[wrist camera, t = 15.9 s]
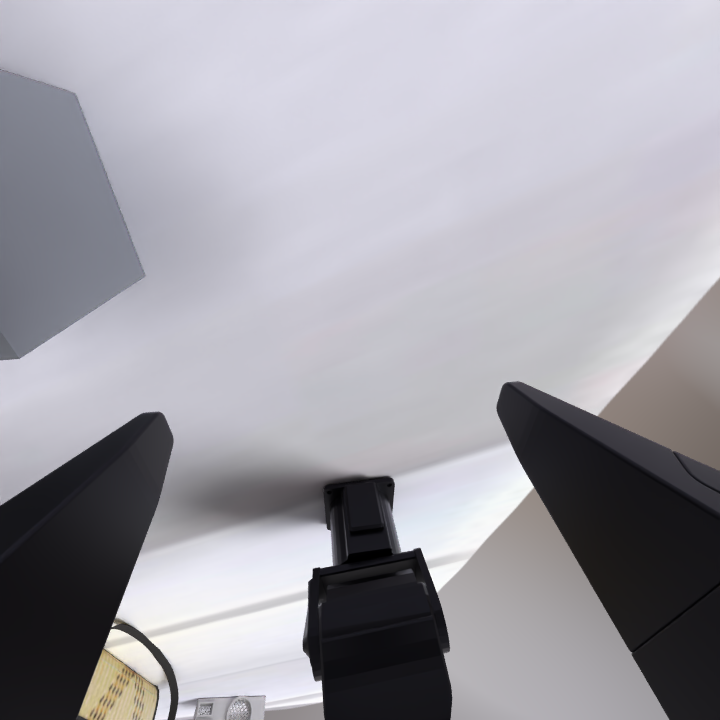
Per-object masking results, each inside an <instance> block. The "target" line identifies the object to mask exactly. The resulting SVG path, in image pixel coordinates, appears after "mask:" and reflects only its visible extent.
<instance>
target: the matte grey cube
mask: <svg viewBox="0 0 720 720" xmlns="http://www.w3.org/2000/svg"><path fill="white" fill-rule="evenodd" d="M143 277H145V274H144V271H143V268H142V266H141V263H140V261H139V258H138V255H137V253H136V250H135V248H134V245H133V242H132V240H131V237H130V235H129V232H128V229H127V227H126V224H125V222H124V219H123V216H122V214H121V211H120V209H119V206H118V203H117V201H116V198H115V196H114V193H113V190H112V188H111V185H110V183H109V180H108V177H107V175H106V172H105V169H104V167H103V164H102V162H101V159H100V156H99V154H98V151H97V149H96V146H95V143H94V141H93V138H92V136H91V133H90V130H89V128H88V125H87V123H86V120H85V117H84V115H83V112H82V110H81V107H80V104H79V102H78V99H77V97H76V94H75V93H72V92H69V91H66V90H63V89H60V88H57V87H54V86H50V85H47V84H44V83H41V82H38V81H35V80H32V79H29V78H26V77H22V76H19V75H16V74H13V73H10V72H7V71H4V70H1V69H0V360H10V359H20V358H21V357H23V356H24V355H26V354H28V353H29V352H31V351H32V350H34V349H35V348H37V347H38V346H40V345H41V344H43V343H44V342H46V341H47V340H49V339H50V338H52V337H53V336H55V335H56V334H58V333H60V332H61V331H63V330H64V329H66V328H67V327H69V326H70V325H72V324H73V323H75V322H76V321H78V320H79V319H81V318H82V317H84V316H85V315H87V314H88V313H90V312H91V311H93V310H95V309H96V308H98V307H99V306H101V305H102V304H104V303H105V302H107V301H108V300H110V299H111V298H113V297H114V296H116V295H117V294H119V293H120V292H122V291H123V290H125V289H126V288H128V287H130V286H131V285H133V284H134V283H136V282H137V281H139V280H140V279H142V278H143Z"/></svg>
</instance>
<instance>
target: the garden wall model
mask: <svg viewBox="0 0 720 720" xmlns="http://www.w3.org/2000/svg"><path fill="white" fill-rule="evenodd" d="M265 698H266V696H256V697H247V696H238V697H230V698H207V699H198V701H197V704H196V709H195V714H194V719H193V720H228V717H229V716H230V715H231V716H232V713H233V712H234V714H235V710H236V711H237V708H236V705H237V704H238V706H239V702H240V701H241V705H242V708H243V711H244V714H245V716H246V715H247V714H249V716H248V717H246V719H247V718H248V719H247V720H264V710H265ZM238 701H239V702H238ZM242 701H243V703H245V705H246V708H247V707H248V708H247V711H248V713H247V714H246V712H247V711H246V712H245V709H246V708H245V709H244V706H245V705H244V706H243V703H242ZM236 702H237V704H236V705H235V703H236ZM233 703H234V705H235V706H234V707H235V708H236V709H235V710H234V707H233ZM241 705H240V706H241ZM201 706H204V707H205V708H207V709H209V707H207V706H211V708H210V709H209V710H210V711H207V710H205V713H203V714H207V713H209V712H210V713H209V715H208V714H207V715H203V714H201V713H200V715H198V714H199V711H200V710H201V712H202V709H201V708H204V707H201ZM231 706H232V709H233V712H231V710H232V709H230V708H231ZM240 706H239V709H240ZM205 708H204V709H205ZM242 708H241V709H242ZM199 709H200V710H199ZM204 709H203V711H204ZM241 709H240V710H239V711H240V712H241ZM206 711H207V712H206ZM239 711H237V713H236V714H238V712H239ZM243 711H242V712H243ZM229 712H231V714H230V715H229ZM242 712H241V713H240V714H241V715H242ZM236 714H235V715H234V716H235V719H236V720H237V717H239V715H240V714H238V716H237V717H236ZM244 714H243V715H244ZM243 715H242V716H241V717H242V719H243V720H244V717H245V716H244V717H243ZM234 716H232V718H231V719H233V717H234ZM241 717H239V719H238V720H240V718H241ZM231 719H230V718H229V720H231ZM233 720H234V719H233Z"/></svg>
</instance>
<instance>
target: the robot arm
mask: <svg viewBox="0 0 720 720" xmlns="http://www.w3.org/2000/svg"><path fill="white" fill-rule="evenodd" d="M497 413H498V416H499V418H500V420H501V422H502V425H503V427H504V429H505V431H506V433H507V436H508V438H509V440H510V442H511V445H512V447H513V449H514V451H515V453H516V455H517V457H518V459H519V461H520V463H521V465H522V467H523V469H524V470H525V472H526V474H527V476H528V477H529V479H530V481H531V482H532V484H533V486H534V488H535V489H536V491H537V493H538V494H539V496H540V498H541V500H542V501H543V503H544V505H545V506H546V508H547V510H548V512H549V513H550V515H551V517H552V518H553V520H554V522H555V524H556V525H557V527H558V528H559V530H560V532H561V534H562V536H563V537H564V539H565V541H566V542H567V544H568V546H569V547H570V549H571V551H572V553H573V554H574V556H575V558H576V559H577V561H578V563H579V565H580V566H581V568H582V570H583V572H584V573H585V575H586V577H587V578H588V580H589V582H590V584H591V585H592V587H593V589H594V590H595V592H596V594H597V596H598V597H599V599H600V601H601V602H602V604H603V606H604V608H605V609H606V611H607V613H608V615H609V616H610V618H611V620H612V621H613V623H614V625H615V627H616V628H617V630H618V631H619V633H620V635H621V637H622V639H623V640H624V642H625V644H626V645H627V647H628V649H629V650H630V651H631V652H632V656H633V658H634V660H635V661H636V663H637V665H638V666H639V668H640V670H641V672H642V673H643V675H644V676H645V678H646V680H647V682H648V683H649V685H650V687H651V689H652V690H653V692H654V694H655V695H656V697H657V699H658V701H659V702H660V704H661V706H662V708H663V709H664V711H665V713H666V714H667V716H668V718H669V720H720V471H718V470H716V469H714V468H712V467H709V466H707V465H705V464H702V463H700V462H698V461H696V460H694V459H691V458H689V457H687V456H685V455H682V454H680V453H678V452H676V451H673V452H672V450H671V449H669V448H666V447H664V446H662V445H660V444H658V443H656V442H653V441H651V440H649V439H647V438H644V437H642V436H640V435H638V434H635V433H633V432H631V431H629V430H627V429H624V428H622V427H620V426H618V425H615V424H613V423H611V422H609V421H607V420H604V419H602V418H600V417H598V416H595V415H593V414H591V413H589V412H587V411H584V410H582V409H580V408H578V407H575V406H573V405H571V404H569V403H567V402H564V401H562V400H560V399H558V398H555V397H553V396H551V395H549V394H547V393H544V392H542V391H540V390H538V389H535V388H533V387H531V386H529V385H527V384H524V383H522V382H518V381H517V382H507V383H505V384H504V385H503V386H502V389H501V392H500V396H499V399H498V402H497ZM172 447H173V435H172V432H171V430H170V428H169V425H168V423H167V421H166V418H165V416H164V415H163V414H162V413H161V412H148V413H142V414H140V415H138V416H137V417H135V418H134V419H132V420H131V421H129V422H128V423H126V424H125V425H123V426H122V427H120V428H119V429H117V430H116V431H114V432H112V433H111V434H109V435H108V436H106V437H105V438H103V439H102V440H100V441H99V442H97V443H96V444H94V445H93V446H91V447H90V448H88V449H86V450H85V451H83V452H82V453H80V454H79V455H77V456H76V457H74V458H73V459H71V460H70V461H68V462H67V463H65V464H64V465H62V466H60V467H59V468H57V469H56V470H54V471H53V472H51V473H50V474H48V475H47V476H45V477H44V478H42V479H41V480H39V481H38V482H36V483H34V484H33V485H31V486H30V487H28V488H27V489H25V490H24V491H22V492H21V493H19V494H18V495H16V496H15V497H13V498H12V499H10V500H8V501H7V502H5V503H4V504H2V505H1V506H0V720H77V717H78V715H79V712H80V709H81V707H82V704H83V701H84V699H85V696H86V693H87V691H88V688H89V685H90V683H91V680H92V677H93V675H94V672H95V669H96V667H97V664H98V662H99V659H100V656H101V654H102V651H103V648H104V646H105V643H106V640H107V638H108V635H109V632H110V630H111V627H112V624H113V622H114V619H115V616H116V614H117V611H118V609H119V606H120V603H121V601H122V598H123V595H124V593H125V590H126V587H127V585H128V582H129V579H130V577H131V574H132V571H133V569H134V566H135V563H136V561H137V558H138V556H139V553H140V550H141V548H142V545H143V542H144V540H145V537H146V534H147V532H148V529H149V526H150V524H151V521H152V518H153V516H154V513H155V510H156V507H157V505H158V502H159V498H160V495H161V491H162V487H163V483H164V479H165V475H166V471H167V467H168V463H169V459H170V455H171V451H172ZM394 487H395V483H394V480H393V479H392V478H384V479H376V480H367V481H359V482H350V483H342V484H333V485H327V486H325V487H324V501H325V512H326V522H327V529H328V530H331V540H332V557H333V566H331V567H326V568H320V567H319V568H314V569H313V578H312V579H311V580H310V581H309V582H308V611H307V617H306V624H305V630H304V636H303V651H304V652H305V653H306V654H307V656H308V657H309V658H310V663H311V666H312V671H313V676H314V679H315V681H320V680H322V690H323V706H324V718H325V720H450V718H451V707H452V690H451V684H450V680H449V675H448V671H447V667H446V663H445V659H444V654H443V653H447V652H449V651H450V645H449V637H448V632H447V627H446V623H445V619H444V615H443V611H442V607H441V604H440V601H439V598H438V595H437V592H436V589H435V587H434V584H433V581H432V578H431V576H430V573H429V570H428V568H427V565H426V562H425V559H424V557H423V554H422V551H421V549H420V548H416V549H414V550H413V551H408V552H402V553H401V549H400V545H399V541H398V536H397V532H396V528H395V524H394V520H393V516H392V509H393V498H394Z"/></svg>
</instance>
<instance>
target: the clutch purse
mask: <svg viewBox="0 0 720 720" xmlns="http://www.w3.org/2000/svg"><path fill="white" fill-rule="evenodd" d="M111 629H118V630H121V631H124V632H126V633H128V634H129V635H131V636H133V637H134V638H136V639H137V640H139V641H140V642H141V643H142V644H144V645H145V646H146V647H147V648H148V649H149V650H150V652H151V653H152V654H153V656H154V657H155V658H156V660H157V661H158V662H159V664H160V665H161V666H162V668H163V669H164V671H165V673H166V676H167V679H168V682H169V687H170V692H171V705H170V712H169V716H168V720H175V716H176V712H177V706H178V687H177V682H176V678H175V675H174V672H173V669H172V667H171V665H170V664H169V662H168V661H167V659H166V658H165V657H164V655H163V654H162V652H161V651H160V650H159V649H158V648H157V647H156V646H155V645H154V644H153V643H152V642H151V641H150V640H149V639H148V638H147V637H146V636H145V635H144V634H142V633H141V632H139V631H138V630H136V629H134V628H132V627H130V626H128V625H124V624H119V625H116V626H114V627H111ZM158 700H159V689H158V687H157V686H153V685H152V684H150V683H149V682H148V681H146V680H145V679H143V678H142V677H141V676H139V675H138V674H137V673H135V672H134V671H133V670H131V669H130V668H128V667H127V666H126V665H124V664H123V663H122V662H120V661H119V660H117V659H116V658H115V657H113V656H112V655H111V654H109V653H108V652H107V651H105V650H104V649H103V651H102V654H101V656H100V659H99V662H98V664H97V667H96V669H95V672H94V675H93V677H92V680H91V683H90V685H89V688H88V691H87V693H86V696H85V699H84V701H83V704H82V707H81V709H80V712H79V715H78V717H77V720H154V719H155V715H156V710H157V706H158Z"/></svg>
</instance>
